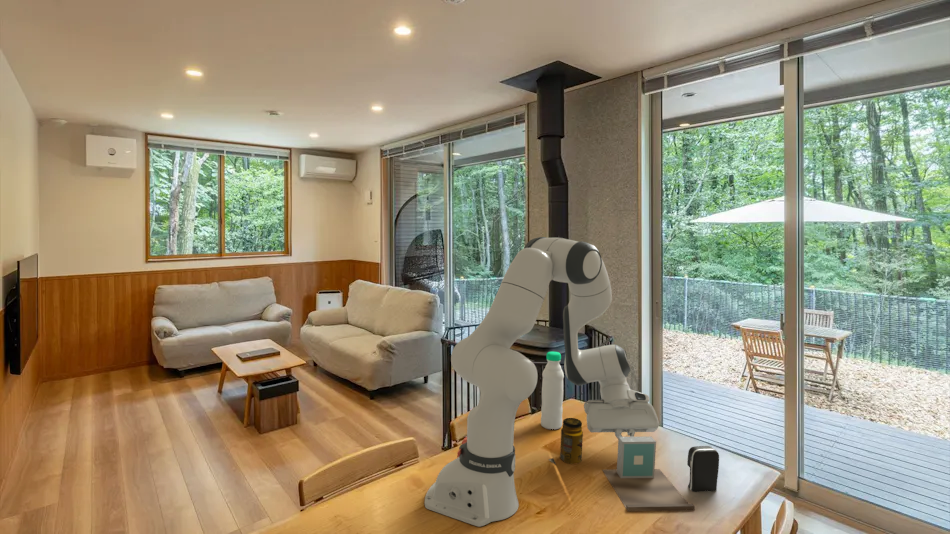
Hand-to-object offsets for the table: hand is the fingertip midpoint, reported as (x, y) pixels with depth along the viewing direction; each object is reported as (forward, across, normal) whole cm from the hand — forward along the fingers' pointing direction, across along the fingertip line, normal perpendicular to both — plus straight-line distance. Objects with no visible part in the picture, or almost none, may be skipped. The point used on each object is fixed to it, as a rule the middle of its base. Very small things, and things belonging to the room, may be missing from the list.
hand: (627, 446), depth 134 cm
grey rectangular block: (+8, 0, -1) cm, 8 cm away
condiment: (+2, -16, +6) cm, 17 cm away
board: (+13, 0, -4) cm, 13 cm away
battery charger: (+13, +15, -4) cm, 20 cm away
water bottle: (-15, -16, +23) cm, 32 cm away
